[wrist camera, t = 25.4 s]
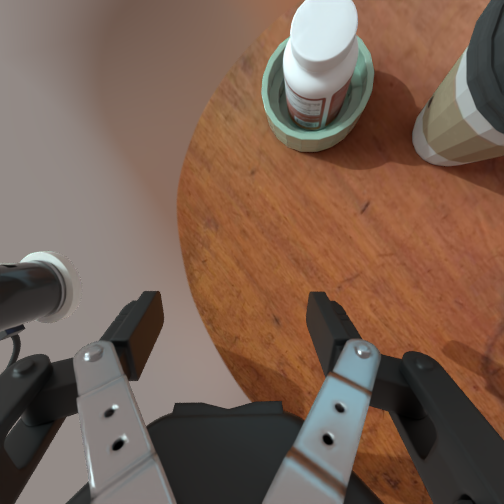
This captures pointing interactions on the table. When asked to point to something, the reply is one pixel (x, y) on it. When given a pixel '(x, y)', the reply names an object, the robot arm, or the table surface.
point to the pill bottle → (320, 61)
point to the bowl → (334, 131)
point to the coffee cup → (468, 101)
